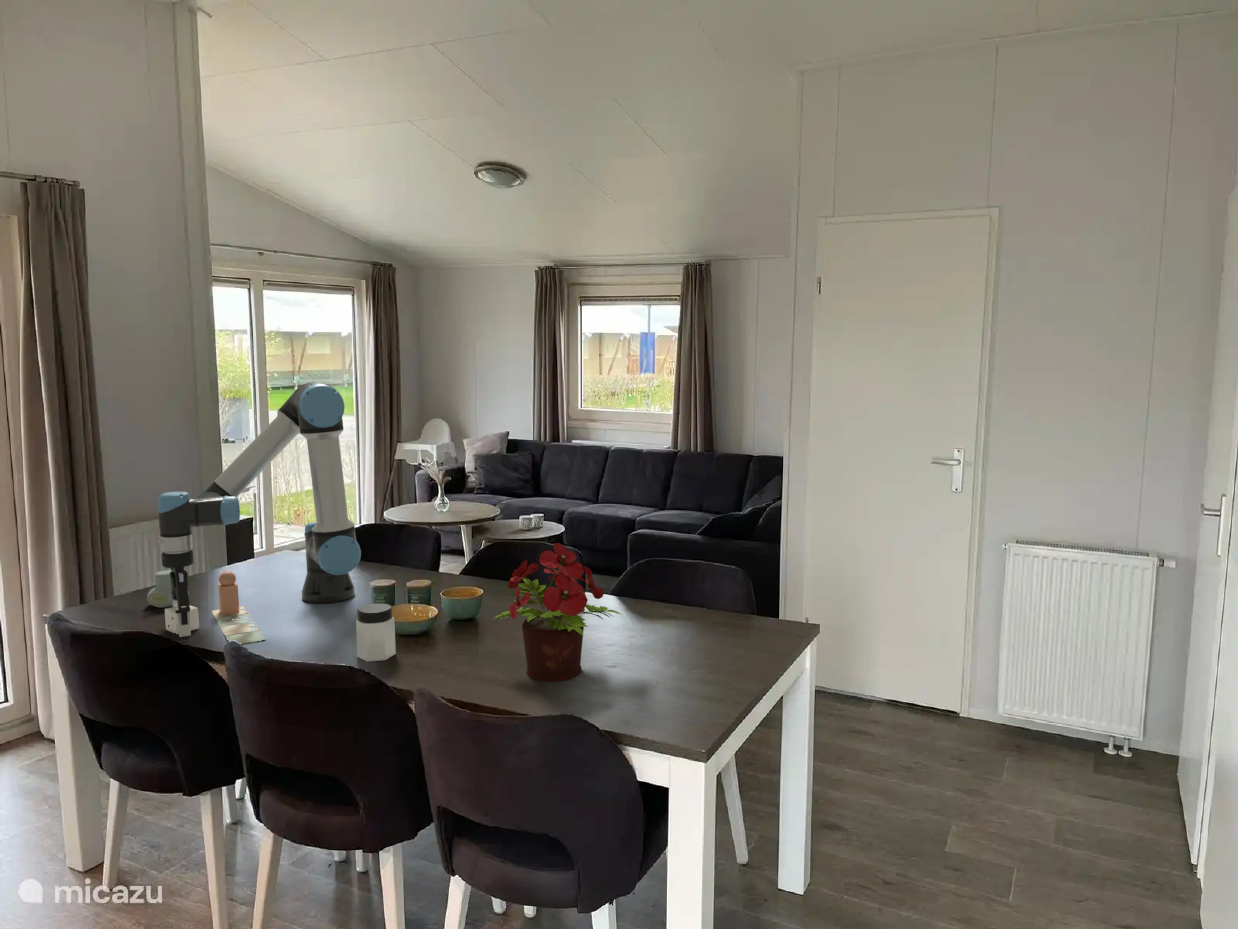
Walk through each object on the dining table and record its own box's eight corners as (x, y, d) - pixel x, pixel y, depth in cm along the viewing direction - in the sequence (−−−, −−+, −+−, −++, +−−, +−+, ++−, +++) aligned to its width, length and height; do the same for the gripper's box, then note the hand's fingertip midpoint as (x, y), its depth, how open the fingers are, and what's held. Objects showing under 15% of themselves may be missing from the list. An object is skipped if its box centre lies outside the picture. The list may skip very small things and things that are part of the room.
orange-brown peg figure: (236, 608, 256) (234, 568, 254) (239, 612, 252) (236, 572, 250) (219, 611, 253) (217, 570, 252) (222, 615, 250) (219, 574, 248)
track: (243, 607, 259) (243, 606, 259) (266, 640, 229) (266, 639, 229) (211, 611, 254) (211, 610, 254) (230, 646, 224) (230, 645, 224)
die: (188, 625, 242) (187, 603, 241) (199, 629, 238) (197, 607, 237) (165, 631, 237) (163, 608, 236) (176, 635, 233) (174, 612, 232)
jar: (356, 663, 212) (354, 614, 210) (358, 652, 220) (356, 604, 218) (395, 660, 214) (393, 611, 212) (395, 649, 222) (394, 602, 220)
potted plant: (518, 699, 189) (515, 561, 185) (484, 659, 214) (481, 536, 210) (644, 678, 201) (643, 548, 197) (598, 642, 225) (597, 526, 221)
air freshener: (194, 602, 264) (192, 569, 263) (176, 610, 256) (173, 576, 254) (161, 600, 266) (159, 568, 264) (142, 608, 258) (139, 575, 256)
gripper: (157, 543, 243) (162, 619, 246) (165, 561, 222) (171, 644, 225) (187, 540, 247) (192, 615, 250) (198, 558, 226) (203, 639, 229)
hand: (182, 629), depth 238 cm, fingers open, 12 cm apart
